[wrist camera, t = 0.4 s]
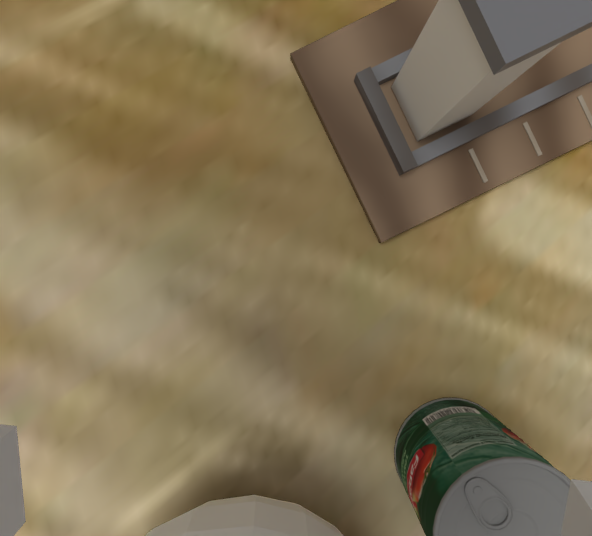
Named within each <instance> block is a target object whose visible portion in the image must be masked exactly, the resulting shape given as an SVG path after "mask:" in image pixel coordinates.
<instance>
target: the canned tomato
mask: <svg viewBox="0 0 592 536" xmlns="http://www.w3.org/2000/svg"><path fill="white" fill-rule="evenodd" d="M394 460H395V465H396V470H397V473H398V475H399V477H400V480H401V482H402V483H403V485H404V487H405V490H406V492H407V494H408V496H409V499H410V501H411V503H412V505H413V508H414V510H415V512H416V514H417V517H418V519H419V521H420V523H421V525H422V528H423V530H424V532H425V534H426V536H561V530H562V525H563V520H564V515H565V510H566V504H567V499H568V494H569V489H570V483H571V480H570V479H569V478H568V477H567V476H566V475H565V474H563V473H562V472H560V471H558V470H557V469H555V468H554V467H553V466H552V465H551V464H550V463H549V462H548V461H547V460H545V459H544V458H543V457H542V456H541V455H539V454H538V453H537V452H536V451H535V450H534V449H532V448H531V447H530V446H529V445H528V444H526V443H525V442H524V441H523V440H522V439H520V438H519V437H518V436H517V435H515V434H514V433H513V432H512V431H511V430H509V429H508V428H507V427H506V426H505V425H503V424H502V423H501V422H500V421H498V420H497V419H496V418H495V417H494V416H492V415H491V414H490V413H489V412H488V411H487V410H486V409H485V408H483V407H481V406H480V405H478V404H476V403H474V402H471V401H469V400H466V399H460V398H441V399H436V400H433V401H430V402H428V403H426V404H423V405H422V406H420V407H419V408H417V409H416V410H415V411H413V412H412V413H411V414H410V415H409V417H408V418H407V419H406V420H405V422H404V423H403V425H402V426H401V428H400V430H399V433H398V435H397V437H396V442H395V448H394Z"/></svg>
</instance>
